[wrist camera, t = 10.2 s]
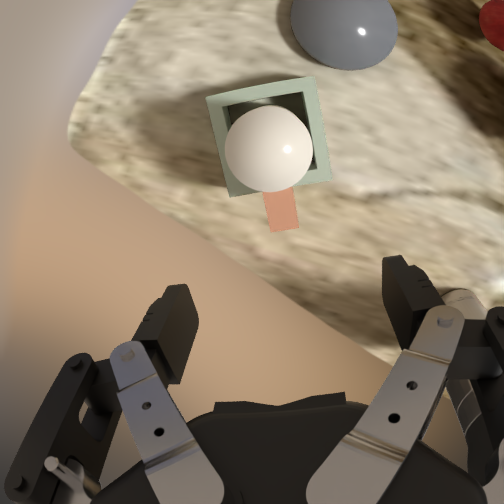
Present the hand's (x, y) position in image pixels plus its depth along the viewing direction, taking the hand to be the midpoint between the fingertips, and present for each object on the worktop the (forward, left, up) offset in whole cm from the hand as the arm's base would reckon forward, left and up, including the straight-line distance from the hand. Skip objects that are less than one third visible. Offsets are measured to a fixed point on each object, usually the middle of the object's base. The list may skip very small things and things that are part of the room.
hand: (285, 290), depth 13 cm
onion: (+14, -26, -21) cm, 36 cm away
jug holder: (+4, 0, -20) cm, 21 cm away
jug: (+3, 0, -20) cm, 20 cm away
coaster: (+14, -9, -20) cm, 26 cm away
